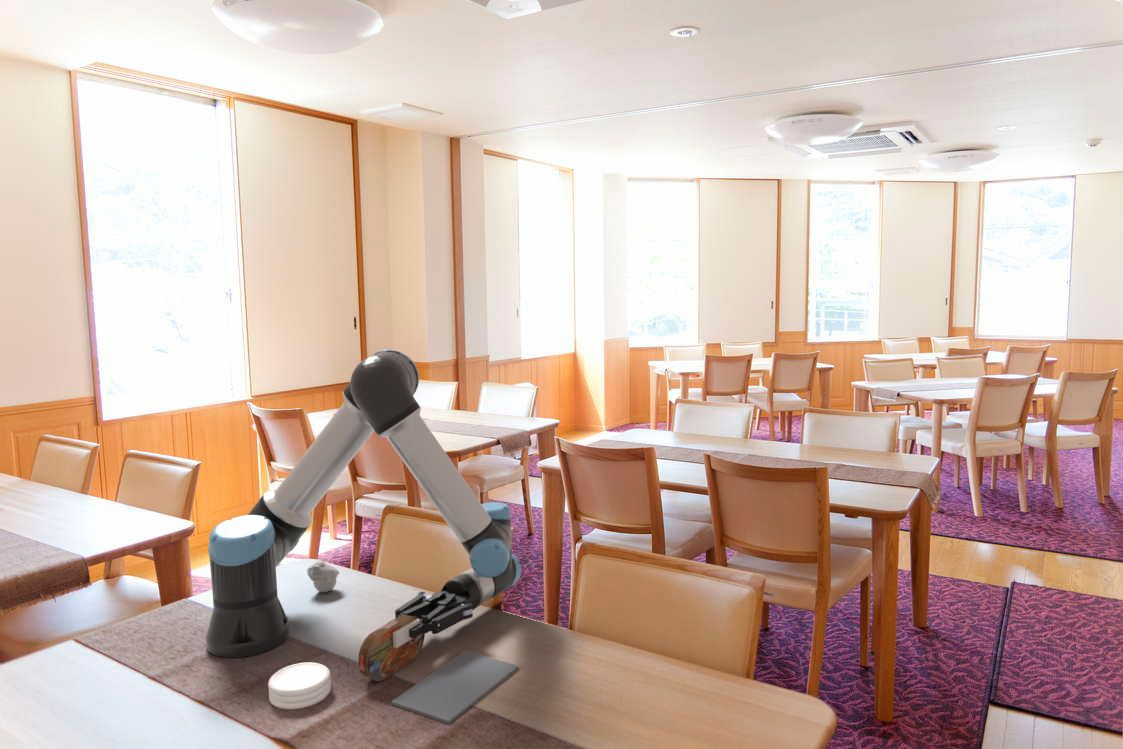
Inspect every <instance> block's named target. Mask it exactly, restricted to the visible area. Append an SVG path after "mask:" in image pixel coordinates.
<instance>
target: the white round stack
mask: <svg viewBox="0 0 1123 749" xmlns="http://www.w3.org/2000/svg"><path fill="white" fill-rule="evenodd" d="M331 680H332V679H331V671H330V669H329V668H328V667H327V666H325V665H324V664H321V663H318V662H299V663H293V664H291V665H287V666H284V667H283V668H280V669H279V670H278V671H276V672H275V673H273V674H272V675H271V676H270V678H269V679H268V683H267V687H268V695H269V696H268V699H269V702H270V703H271V705H272V706H274V707H276V708H278V709H282V710H299V709H300V710H301V709H304V708H308V707H311V706H314V705H316V704H318V703H321V701H323V700H324V699H325V698H327V696H328V695H329V694H330V692H331V690H332V684H331V683H332V682H331Z"/></svg>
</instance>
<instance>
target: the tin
mask: <svg viewBox="0 0 1123 749" xmlns="http://www.w3.org/2000/svg"><path fill="white" fill-rule="evenodd" d="M416 619H420V618H418V617H414V616H409V615H402V616H400V617H398V618H396V619H395V618H394V619H392V620H393V621H392V620H391V622H390V621H388V622H389V623H388V622H387V623H386V624H384V625H383V626H380V627H381V628H380V627H379V628H377V629H376V630H374V631H372V632H371V633H369V634H368V635H367V636H366V638H364V640H363V642H362V644H361V646H360V649H359V652H358V666H359V667H358V668H359V672H360V673H361V674H362V675H363V677H365V678H368V679H371V680H372V681H375V682H381V681H384V680H387V678H389V677H391V675H393V674H394V673H396V672H397V671H399V670H401V669H402V668H404V667H405V666H407V665H408V664H410V663H411V662H413V661H414V660H415V659H416V658H417V657H418V656H419V653H420V652H421V650H422V648H423V645H424V642H425V636H426V633H422V634H421V635H419V636H417V637H415V638H412V639H411V640H409V641H407V642H406V643H404V644H402V645H401V646H399V647H398V648H395V647H393V632H395V631H397V630H398V629H400V628H402V627H403V626H405V625H407V624H409V623H410V622H412V621H414V620H416ZM421 622H422V619H420V623H421Z"/></svg>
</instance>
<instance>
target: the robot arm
mask: <svg viewBox="0 0 1123 749" xmlns="http://www.w3.org/2000/svg"><path fill="white" fill-rule="evenodd" d="M350 377H351V378H350V382H349V383H348V384H347V386H346V387H345V388H344V390H343V391H342V397H343V403H342V404H341V405H340V407H339V408H338V409H337V410H336V412H335V413H334V415H332V417H331V419H329V421H328V422H327V424H326V425H325V426H324V428H323V429H322V430H321V431H320V433H319V434H318V436H317V437H316V438H315V439H314V441H313V442H312V443H311V444H310V445H309V446H308V448H307V449H306V450H305V452H304V454H302V456H301V458H299V460H298V461H297V463H295V465H294V466H293V468H292V469H291V470H290V471H289V473H288V474H287V475H286V477H285V478H284V479H283V481H282V482H280V484H279V486H277V488H276V489H269V490H266V491H265V492H264V494H262V496H261V497H260V498H259V500H258V501H257V502H256V504H255V505H254V506H253V507H252V508H251V510H250V511H249V512H248V514H246V515H239V516H234V517H232V518H230V520H228V519H227V520H224V521H222V522H220V523H218V524H217V525H216V526H215V527H213V529H212V530H211V532H210V533H209V538H208V547H207V551H208V557H209V566H210V578H211V591H212V604H213V607H212V612H211V615H210V619H209V624H208V628H207V631H206V634H205V645H206V650H207V651H208V652H209V653H210V654H212V655H214V656H217V657H220V658H221V657H222V658H242V657H249V656H254V655H258V654H262V653H264V652H268V651H269V650H272V649H274V648H276V647H278V646H280V645H281V644H283V643H284V642H285V641H286V640H287V639H288V638H289V635H290V624H289V622H290V621H289V619H288V616H287V615H286V612H285V610H284V608H283V606H282V603H281V601H280V599H279V596H278V582H277V579H278V578H277V567H278V566H279V565H280V563H281V562H282V561H283V559H285V558H286V557H287V555H288V554H289V553H291V552H292V551H293V550H294V549H295V548H296V546H297V545H298V544H299V542H300V539H301V538H302V536H303V535H304V534H305V532H306V531H307V530H308V528H309V527H310V526H311V524H312V522H313V518H312V514H311V513H312V512H313V510H314V509H315V508H316V507H317V505H318V504H319V503H320V501H321V500H322V499H323V497H324V496H325V495H326V493H328V491H329V490H330V489H331V487H332V486H333V485H334V484H335V482H336V481H337V479H338V478H339V477H340V476H341V475H342V473H343V472H344V471H345V469H346V468H347V467H348V465H349V464H350V463H351V462H352V461H353V459H354V458H355V456H356V455H357V454H358V453H359V452H360V450H361V449H362V448H363V446H364V445H365V444H366V442H368V440H369V439H370V437H371V436H372V435H373V434H374V432H375V433H376V435H378V437H380V438H385V439H387V441H388V442H389V444H390V445H391V446H392V448H393V449H394V450H395V452H396V454H397V455H398V456H399V458H400V459H401V460H402V461H403V463H404V464H405V466H406V467H407V468H408V470H409V472H410V473H411V474H412V476H413V477H414V479H415V480H416V481H417V483H418V484H419V485H420V487H421V489H422V490H423V492H425V494H426V496H427V497H428V498H429V500H430V501H431V503H432V504H433V505H434V507H435V508H436V509H437V511H438V512H439V514H440V515H441V517H442V518H443V520H444V522H446V524H447V525H448V526H449V528H450V530H451V531H452V532H453V535H455V536H456V538H457V539H458V540H459V542H460V544H461V545H462V547H463V548H464V550H465V551H466V553H468V555H469V556H468V558H469V561H470V562H469V563H470V566H471V568H469V569H467V570H465V571H463V572H462V573H460V574H458V575H457V576H456V575H455V577H453V578H451V579H449V580H447V581H446V582H445V584H443V587H442V589H441V590H440V591H437V592H434V593H432V594H431V595H427V594H426V593H425V591H420V592H418V593H417V595H416V596H415V597H413V598H412V599H410V600H408V601H407V602H405V603H404V604H403V605H401V606H399V607H398V608H396V609H395V611H394V612H395V613H394V615H395V617H394V619H396V618H398V617H400V616H402V615H409V616H414V617H418V618H420V619H421V620H422V622H421V623H420V619H416V620H414V621H412V622H410V623H409V624H407V625H405V626H403V627H402V628H400V629H398V630H397V631H395V632H393V647H395V648H398V647H399V646H401V645H402V644H404V643H406V642H407V641H409V640H411V639H412V638H415V637H417V636H419V635H421V634H422V633H425V634H428V633H429V632H431V633H432V635H437V634H439V633H441V632H443V631H445V630H447V629H449V628H451V627H452V626H455V625H457V624H458V623H460V622H462V621H465V620H468V619H471V618H473V617H474V614H473V611H474V610H476V609H477V608H478V607H480V606H481V605H483V604H484V603H486V602H487V601H490V600H491V599H493V598H495V597H496V596H498V595H500V594H502V592H505V591H507V590H509V589H510V588H511V587H512V586H513V585H515V584H516V583H517V582H518V581H519V580H520V578H521V575H522V565H521V564H520V561H519V558H518V557H517V556H516V555H515V554H514V553H512V517H511V508H510V506H509V505H508V504H507V503H504V502H500V501H499V502H498V501H497V502H496V501H490V502H485V503H481V502H480V500H479V498H478V497H477V496H476V494H475V493H474V491H473V490H472V488H470V486H469V485H468V483H467V481H466V480H465V478H464V477H463V475H462V474H461V472H459V469H458V468H457V467H456V465H455V464H454V463H453V461H452V459H451V458H450V457H449V455H448V454H447V452H446V451H445V450H444V449H443V447H442V445H441V444H440V443H439V441H438V440H437V438H436V437H435V435H434V434H433V432H432V431H431V429H430V428H429V427H428V426H427V423H426V422H425V421H424V419H423V418H422V416H421V409H422V407H421V406H420V404H419V403H418V401H417V400H416V399H415V397H414V395H415V394H416V392H417V390H418V387H419V381H420V380H419V379H420V375H419V370H418V367H417V365H416V363H415V362H414V360H413V359H412V358H411V357H409V355H407V354H405V353H404V352H401V351H400V350H399V351H398V350H394V349H384V350H379V351H377V352H376V353H374V354H372V355H371V356H369V357H367V358H364V359H363V360H362V361H360V362H359V363H358V364H357V365H356V366H355V368H354V370H353V371H352V373H351V376H350ZM394 619H392V620H391V621H393V620H394ZM391 621H388V622H387V623H389V622H391ZM381 627H382V626H380V627H379V628H381Z"/></svg>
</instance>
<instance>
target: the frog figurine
mask: <svg viewBox="0 0 1123 749" xmlns="http://www.w3.org/2000/svg"><path fill="white" fill-rule="evenodd" d="M306 572H307V576H308V577H309V579H310V580H311V582H312V583H313V587H314V588H315V589H316V590H317V592H319V593H329V592H330V591H332V590H333V589H334V588H335V587H336V585H337V578H338V575H339V574H340V572H339V570H338V568H336V567H334V566H333V565H331V564H329V563H326V562H325V561H321V560H317V561H316V562H314V563H313V564H312V565H310V566H309V567H307V568H306ZM328 591H329V592H328Z"/></svg>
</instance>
